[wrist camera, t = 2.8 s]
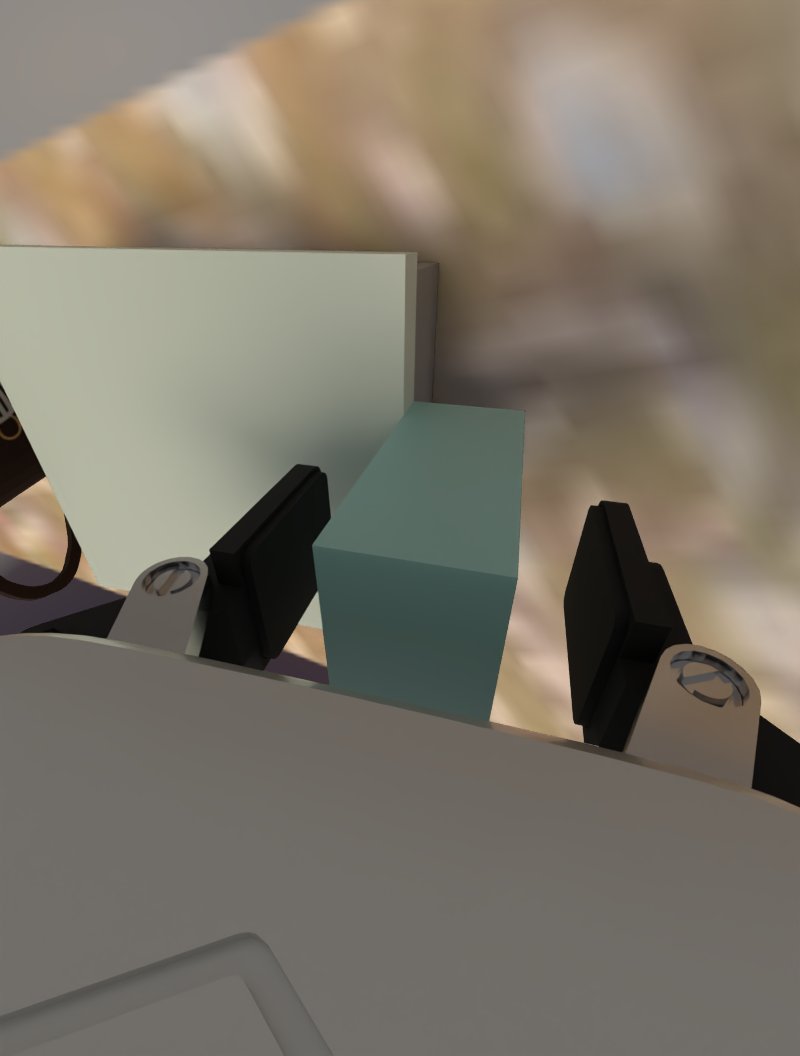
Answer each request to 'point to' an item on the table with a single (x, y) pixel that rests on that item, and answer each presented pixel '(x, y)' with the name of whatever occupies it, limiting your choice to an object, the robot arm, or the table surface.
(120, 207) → the table surface
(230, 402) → the board with teal handle
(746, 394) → the table surface
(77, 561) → the coffee mug
